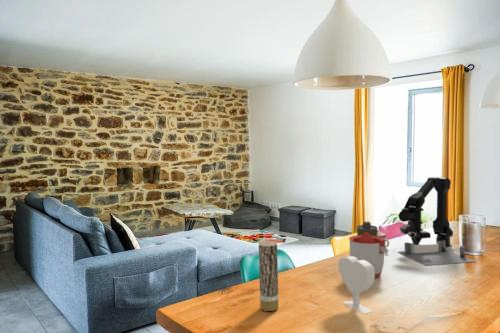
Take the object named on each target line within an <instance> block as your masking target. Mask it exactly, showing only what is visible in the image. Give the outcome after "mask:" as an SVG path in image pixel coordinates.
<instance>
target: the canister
mask: <svg viewBox="0 0 500 333" xmlns="http://www.w3.org/2000/svg"><path fill="white" fill-rule="evenodd" d="M371 224H372V223H371V221H363V223H362V225H361V224H360V225H358V226H356V236H358V235H363V234H364V233H366V232H367V233H368V234H370V236H377V229H378V226H376V225H371Z"/></svg>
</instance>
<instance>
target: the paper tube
mask: <svg viewBox="0 0 500 333" xmlns="http://www.w3.org/2000/svg"><path fill="white" fill-rule="evenodd" d="M258 261H259V262H258V266H259V267H258V268H259V270H258V271H259V272H258V273H259V302H260V303H259V306H260V309H261V311H263V310H264V311H263V312H266V311H273V312H275V311H274V310H276V311H278V309H279V269H278V268H279V267H278V262H279V261H278V242H277V241H275V240H270V239H269V240H268V239H267V240H266V239H265V240H260V241H259V242H258Z"/></svg>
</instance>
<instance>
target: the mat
mask: <svg viewBox="0 0 500 333" xmlns="http://www.w3.org/2000/svg"><path fill="white" fill-rule="evenodd" d="M398 254H401V255H403V256H405V257H407V258H409V259H411V260H413V261H414V262H418V263H419V264H421V265H423V266H425V267H429V266H431V267H432V266H442V265H457V264H470V263H471V264H472V263H476V262H477V261H476V260H474V259H471V258H469V257H466V256H465V258H461V257H460V253H459V254H458V253H455V252H454V251H451V250H449V249H446V248H445V252H425V253H414V254H411V253H410V255H406V254H405V250H402V251H401V250H400V251H398Z"/></svg>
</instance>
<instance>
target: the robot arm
mask: <svg viewBox="0 0 500 333" xmlns="http://www.w3.org/2000/svg"><path fill="white" fill-rule="evenodd" d="M451 183H452V182H451V179H449V178H448V177H443V176H442V177H439V176H438V177H437V176H436V177H435V176H434V177H433V176H430V177H428V178H427V180H425V182H424V184H423V185H422V186H421V187H420V188H419V190H418V191H417V192H415V193H413V194H411V195H410V196H409V197H408V198H407V201H406V203H405V205H404V207H403V208H401V210H400V212H399V213H398V219H399V220H400V222H405V223H406V222H407V223H406V224H404V225H401V226H399V230H400V233H401V234H403V235H408V236H409V237H410V238H411V241H412V242H411V243H414V245H420V244H421V241H422V239H431V233H430V232H428V231H424V228H422V224H424V222H423V221H422V212H423V211H424V209H423V208H422V207H423V205H424V204H425V202H426V198H427V196H428V195H429V194H430V193H431V191H432V190H433V189H434V190H435V192H436V194H437V195H436V196H437V197H436V217H435V219H433V221H432V229H433V232H434V235H436V237H435V238H436V240H435V241H436V243H437V241H440V242H441V240H445V248H447V247H453V246H452V244H451V237H453V236H454V231H453V230H452V229H451V226H450V222H449V220H448V218H447V196H448V192H449V190H451ZM436 243H435V244H436Z"/></svg>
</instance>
